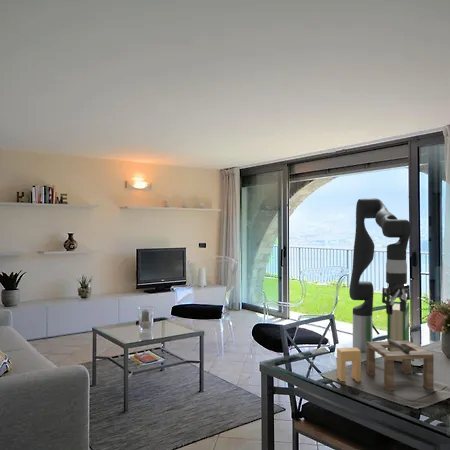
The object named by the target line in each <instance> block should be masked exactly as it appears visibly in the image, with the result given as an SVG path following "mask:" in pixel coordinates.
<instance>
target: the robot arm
mask: <svg viewBox="0 0 450 450" xmlns="http://www.w3.org/2000/svg"><path fill="white" fill-rule="evenodd" d="M366 219H374V220H375V223H376V225H377V226H379V228H381V232H382V235H383V236H384V237H386V238H388V239H389V238H391V239H394V238H398V240H397V241H396V242H394V243H390V244H387V246H386V263H385V283H386V284H388V285H387V286H388V287H387V286H386V287H384V286H383V287H382V294H381V303H383V304H385V305H386V306H385V313H386V315H387V314H389V315H392V314H393V305H392V304H393V301H396V300H397V299H399V302H400V311H402V312H406V303H408V301H410V300H411V287H410V286H411V285H410V284H407V283H408V264H407V249H408V244H409V240H410V238H411V237H410V236H411V234H412V230H413V229H412V224H411V222H410V221H409V219H403V218H402V219H401V218H400V219H398V218H397V216H395V215H394V214H393V213H392V212H390V211H389V210H388V208H387V207H386V205H385V204H384V203H383V201H382V200H381V199H379V198H374V197H373V198H372V197H371V198H370V197H367V198H365V197H364V198H358V199H357V202H356V207H355V232H354V233H355V236H354V243H353V251H352V252H353V254H352V258H353V259H352V270H351V278H350V283H349V290H348V291H349V297H350V300H352V301H363V302H362V303H361V304H359V305H357V306H354V307H353V308H352V348H355V347H356V348H358V349H359V350H360V351H361V353H363V352H364V353H366V342H373V311H374V309H373V308H374V290H375V289H374V285H373V283H372V282H371V281H366V280H365V281H361V280H360V279H361V277H362V275H363V273H364V272H365V270H366V269H367V268H369V266H370V265H371V263H372V261H373V260H374V256H375V243H374V241H373V238H372V236H370V234H369V232H368V231H367V228H366V225H365V221H366Z"/></svg>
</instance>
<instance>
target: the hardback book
mask: <svg viewBox="0 0 450 450" xmlns="http://www.w3.org/2000/svg"><path fill="white" fill-rule="evenodd" d="M400 302H401V301H396V300H394V301H393V304H392V305H393V314H392V315H389V314H387V313H386V316H387V317H386V318H387V319H386V320H387V322H386V323H387V327H386V328H387V329H386V331H387V336H386V337H387V339H386V341H388V339H392V340H393V341H410V303H409V302H406V312H402V311H400ZM386 349H387V350H389V351H390V352H398V351H402V350H401V349H399V348H386ZM395 361H396V362H401V363H402V359H398V360H394V362H395Z"/></svg>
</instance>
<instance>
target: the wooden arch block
mask: <svg viewBox="0 0 450 450" xmlns="http://www.w3.org/2000/svg"><path fill="white" fill-rule="evenodd" d="M361 358H362V352H361V351H360V350H359V349H358V348H356V347H355V348H353V347H336V379H337V380H338V379H339V380H340V381H346V371H347V369H346V368H347V367H346V366H347V365H346V364H347V363H346V362H351V378H352V377H353V378H354V379H355V380H356V381H357V382H361V381H362V380H361V379H362V375H361V374H362V372H361V370H362V364H361V362H362V359H361ZM353 378H352V379H353ZM354 379H353V380H354ZM355 380H354V381H355ZM340 381H339V382H340ZM356 381H355V382H356Z"/></svg>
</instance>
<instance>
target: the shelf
mask: <svg viewBox="0 0 450 450" xmlns="http://www.w3.org/2000/svg"><path fill="white" fill-rule="evenodd" d="M387 348H399V349H401V350H402V351H398V352H390V351H389V350H387ZM376 353H377V354H378V355H380V356H381V357H383V363H384V365H383V367H384V370H383V377H384V378H383V389H385V390H386V391H387V390H389V391H388V392H391V391H390V390H393V391H394V390H395V361H394V360H398V359H402V362H401V372H402V373H403V374H405V375H409V374H408V373H411V374H412V364H411V360H414V359H419V360H421V359H422V361H423V366H422V369H423V371H422V375H423V377H422V382H423V383H422V387H423V386H424V388H425V389H427V390H433V389H434V353H433V352H430V351H429V350H426V349H425V348H423V347H421V346H419V345H417V344H415V343H413V342H412V341H410V340H409V341H393V340H392V339H388V341H387V340H385V341H384V340H383V341H382V340H381V341H372V342H366V352H365V354H366V355H365V356H366V360H365V361H366V363H365V364H366V366H365V367H366V369H365V370H366V373H365V374H367V375H368V376H375V375H376V373H375V372H376Z"/></svg>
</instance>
